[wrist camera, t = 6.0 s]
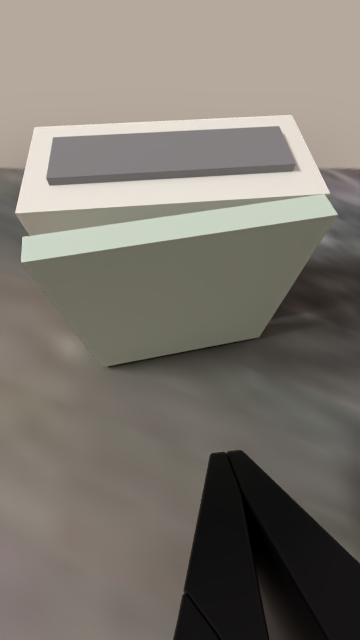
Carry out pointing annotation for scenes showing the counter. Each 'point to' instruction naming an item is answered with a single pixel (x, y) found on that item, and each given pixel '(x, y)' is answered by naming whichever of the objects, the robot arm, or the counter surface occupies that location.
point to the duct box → (161, 170)
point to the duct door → (177, 275)
